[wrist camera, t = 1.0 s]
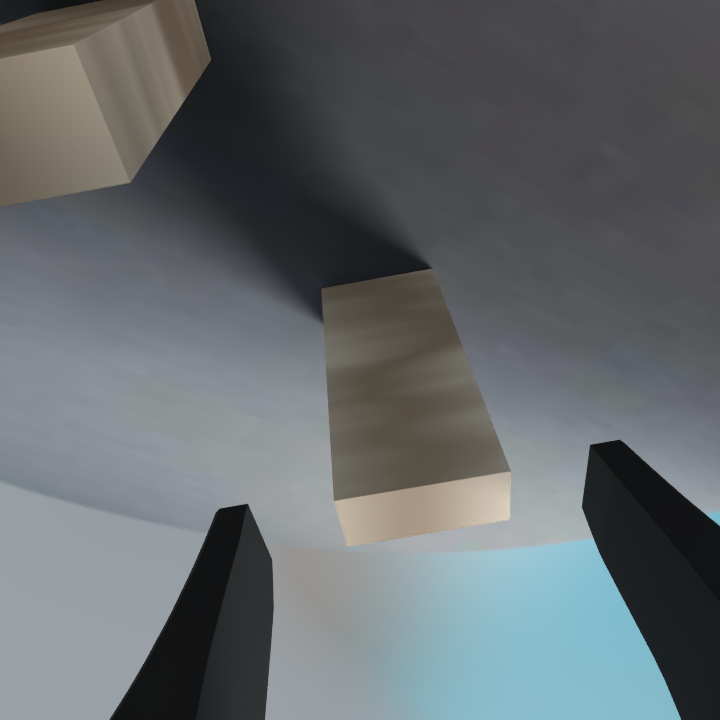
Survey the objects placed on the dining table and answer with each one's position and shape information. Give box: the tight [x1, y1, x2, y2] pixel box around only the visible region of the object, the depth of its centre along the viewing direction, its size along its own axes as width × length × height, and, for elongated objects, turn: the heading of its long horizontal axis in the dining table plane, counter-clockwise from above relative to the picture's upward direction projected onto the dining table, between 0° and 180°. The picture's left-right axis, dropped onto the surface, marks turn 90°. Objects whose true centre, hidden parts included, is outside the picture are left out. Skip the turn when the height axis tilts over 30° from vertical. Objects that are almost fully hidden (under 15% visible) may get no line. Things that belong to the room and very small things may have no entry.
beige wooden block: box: [0, 0, 211, 207], centre depth 10 cm, size 4×2×8 cm, turn 99°
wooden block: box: [321, 269, 511, 547], centre depth 15 cm, size 4×2×8 cm, turn 99°
